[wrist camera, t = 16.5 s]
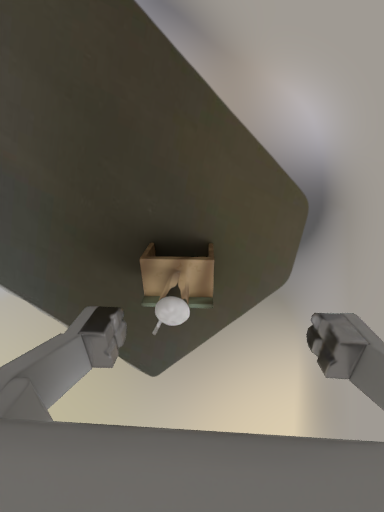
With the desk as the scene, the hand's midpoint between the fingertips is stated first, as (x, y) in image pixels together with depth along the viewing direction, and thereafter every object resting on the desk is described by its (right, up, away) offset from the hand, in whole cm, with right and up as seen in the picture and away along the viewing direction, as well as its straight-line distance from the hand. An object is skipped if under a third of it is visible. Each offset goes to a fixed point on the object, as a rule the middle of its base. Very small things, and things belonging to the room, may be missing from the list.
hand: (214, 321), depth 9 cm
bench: (-3, +2, +32) cm, 32 cm away
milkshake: (-3, -1, +25) cm, 26 cm away
